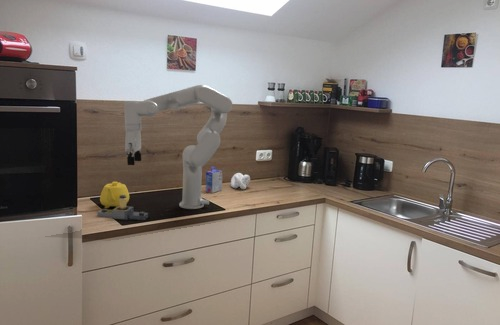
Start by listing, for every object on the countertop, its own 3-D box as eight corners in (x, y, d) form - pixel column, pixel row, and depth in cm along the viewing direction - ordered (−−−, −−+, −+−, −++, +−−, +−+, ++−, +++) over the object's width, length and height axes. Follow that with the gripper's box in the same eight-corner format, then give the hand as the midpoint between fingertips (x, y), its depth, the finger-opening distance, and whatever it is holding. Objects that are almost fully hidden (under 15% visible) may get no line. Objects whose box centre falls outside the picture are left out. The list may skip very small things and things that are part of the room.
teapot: (94, 211, 198) (93, 186, 196) (107, 200, 218) (107, 177, 215) (122, 213, 198) (122, 187, 196) (133, 201, 218) (133, 178, 216)
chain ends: (148, 216, 196) (149, 208, 195) (143, 221, 189) (143, 212, 188) (103, 212, 198) (103, 204, 197) (96, 216, 191) (96, 208, 190)
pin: (127, 216, 195) (127, 195, 193) (124, 217, 192) (124, 197, 190) (121, 215, 195) (121, 194, 193) (118, 217, 192) (118, 196, 190)
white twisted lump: (244, 185, 267) (245, 171, 265) (253, 189, 257) (254, 175, 255) (228, 186, 262) (229, 172, 260) (237, 191, 251) (238, 176, 250)
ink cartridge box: (215, 188, 254) (215, 165, 252) (222, 190, 252) (223, 166, 249) (204, 191, 246) (205, 167, 244) (212, 193, 243) (213, 169, 241)
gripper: (131, 125, 205) (133, 159, 209) (118, 129, 188) (120, 166, 192) (146, 125, 205) (147, 159, 208) (135, 129, 188) (136, 166, 191)
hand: (134, 162), depth 200 cm, fingers open, 9 cm apart
